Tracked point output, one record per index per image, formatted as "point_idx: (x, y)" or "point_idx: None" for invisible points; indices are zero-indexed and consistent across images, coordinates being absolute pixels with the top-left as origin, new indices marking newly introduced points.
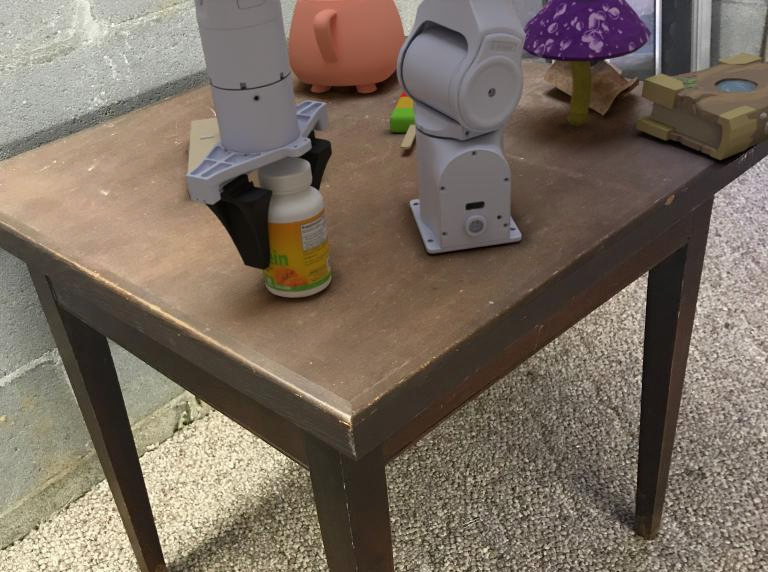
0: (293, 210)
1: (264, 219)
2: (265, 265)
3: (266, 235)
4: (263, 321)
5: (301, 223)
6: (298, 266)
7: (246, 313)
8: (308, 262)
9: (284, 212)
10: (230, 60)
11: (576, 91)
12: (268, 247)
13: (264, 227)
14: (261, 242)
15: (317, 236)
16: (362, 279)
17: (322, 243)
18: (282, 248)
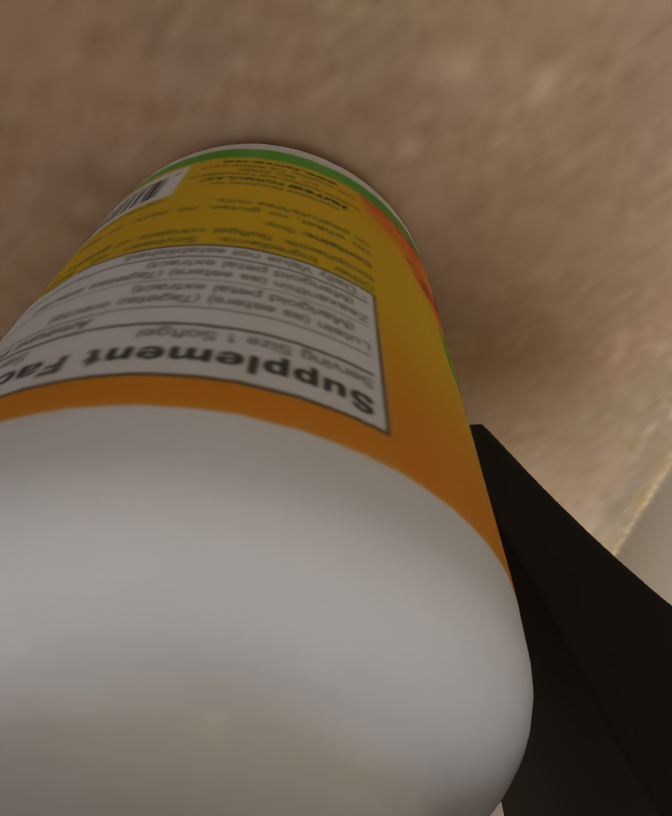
0: (432, 618)
1: (654, 703)
2: (489, 435)
3: (545, 566)
4: (581, 260)
5: (376, 438)
6: (400, 275)
7: (542, 359)
8: (342, 238)
9: (497, 659)
10: None
11: None
12: (493, 495)
13: (607, 631)
14: (599, 543)
15: (214, 283)
16: (8, 17)
17: (178, 241)
18: (466, 419)
